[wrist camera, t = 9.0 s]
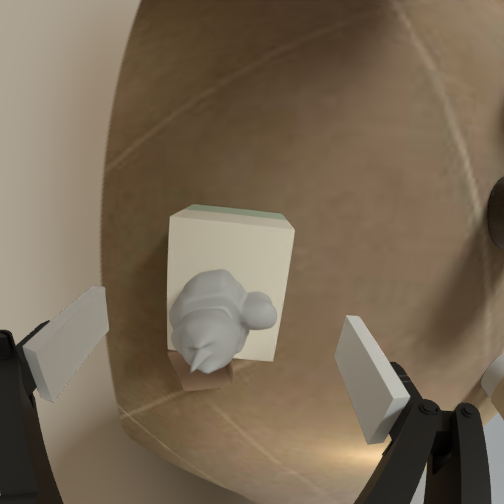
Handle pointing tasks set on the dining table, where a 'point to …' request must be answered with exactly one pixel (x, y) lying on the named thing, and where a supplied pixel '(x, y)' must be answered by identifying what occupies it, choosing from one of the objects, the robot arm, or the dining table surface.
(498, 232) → the pillar candle
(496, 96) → the dining table surface
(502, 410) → the coffee cup
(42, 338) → the robot arm
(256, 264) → the cream and green box
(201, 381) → the brick
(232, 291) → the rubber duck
